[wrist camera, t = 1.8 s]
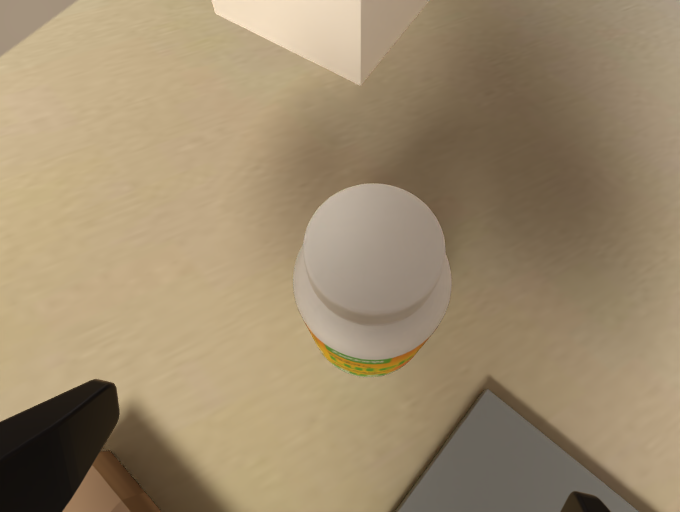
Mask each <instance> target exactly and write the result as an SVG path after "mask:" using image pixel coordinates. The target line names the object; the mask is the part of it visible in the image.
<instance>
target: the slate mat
mask: <svg viewBox="0 0 680 512" xmlns="http://www.w3.org/2000/svg"><path fill="white" fill-rule="evenodd" d="M573 491H578V492H583V493H587V494H591V495H595V496H597V497H598V498H599V499H600V500H601V501H602V502H603V503H604V504H605V505H606V506H607V507H608V509H609V510H610V511H611V512H639V511H638V510H636V509H635V508H634V507H633V506H631V505H630V504H629V503H628V502H627V501H625V500H624V499H623V498H622V497H620V496H619V495H618V494H617V493H615V492H614V491H613V490H612V489H611V488H609V487H608V486H607V485H606V484H604V483H603V482H602V481H601V480H599V479H598V478H597V477H596V476H594V475H593V474H592V473H591V472H590V471H588V470H587V469H586V468H585V467H583V466H582V465H581V464H580V463H578V462H577V461H576V460H575V459H574V458H572V457H571V456H570V455H569V454H567V453H566V452H565V451H564V450H562V449H561V448H560V447H559V446H558V445H556V444H555V443H554V442H553V441H551V440H550V439H549V438H548V437H546V436H545V435H544V434H543V433H542V432H540V431H539V430H538V429H537V428H535V427H534V426H533V425H532V424H530V423H529V422H528V421H527V420H525V419H524V418H523V417H522V416H521V415H519V414H518V413H517V412H516V411H514V410H513V409H512V408H511V407H509V406H508V405H507V404H506V403H505V402H503V401H502V400H501V399H500V398H498V397H497V396H496V395H495V394H493V393H492V392H491V391H490V390H489V389H485V390H484V391H483V392H482V393H481V395H480V396H479V397H478V399H477V400H476V401H475V403H474V404H473V406H472V407H471V408H470V410H469V411H468V412H467V414H466V415H465V416H464V418H463V419H462V421H461V422H460V423H459V425H458V426H457V427H456V429H455V430H454V432H453V433H452V434H451V436H450V437H449V438H448V440H447V441H446V442H445V444H444V445H443V447H442V448H441V449H440V451H439V452H438V453H437V455H436V456H435V457H434V459H433V460H432V462H431V463H430V464H429V466H428V467H427V468H426V470H425V471H424V473H423V474H422V475H421V477H420V478H419V479H418V481H417V482H416V483H415V485H414V486H413V488H412V489H411V490H410V492H409V493H408V494H407V496H406V497H405V499H404V500H403V501H402V503H401V504H400V505H399V507H398V508H397V509H396V511H395V512H560V511H561V509H562V508H563V506H564V504H565V502H566V500H567V498H568V496H569V494H570V493H571V492H573Z"/></svg>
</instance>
